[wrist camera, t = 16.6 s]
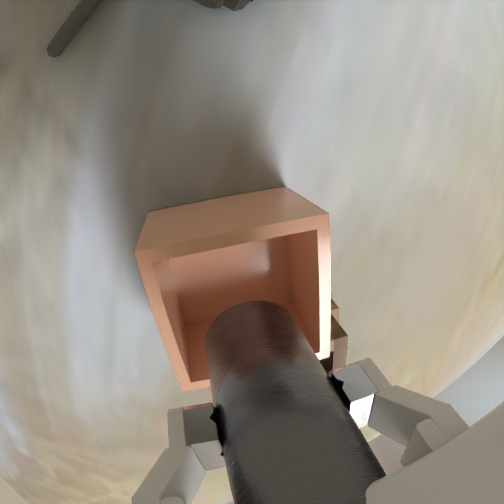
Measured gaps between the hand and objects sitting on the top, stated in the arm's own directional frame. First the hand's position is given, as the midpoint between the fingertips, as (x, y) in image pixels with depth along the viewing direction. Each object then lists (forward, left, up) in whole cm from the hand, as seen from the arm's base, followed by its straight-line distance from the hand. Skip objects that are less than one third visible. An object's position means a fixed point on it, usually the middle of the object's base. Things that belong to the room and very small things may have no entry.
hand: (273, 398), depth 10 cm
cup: (0, 0, -11) cm, 11 cm away
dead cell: (0, 0, -3) cm, 3 cm away
